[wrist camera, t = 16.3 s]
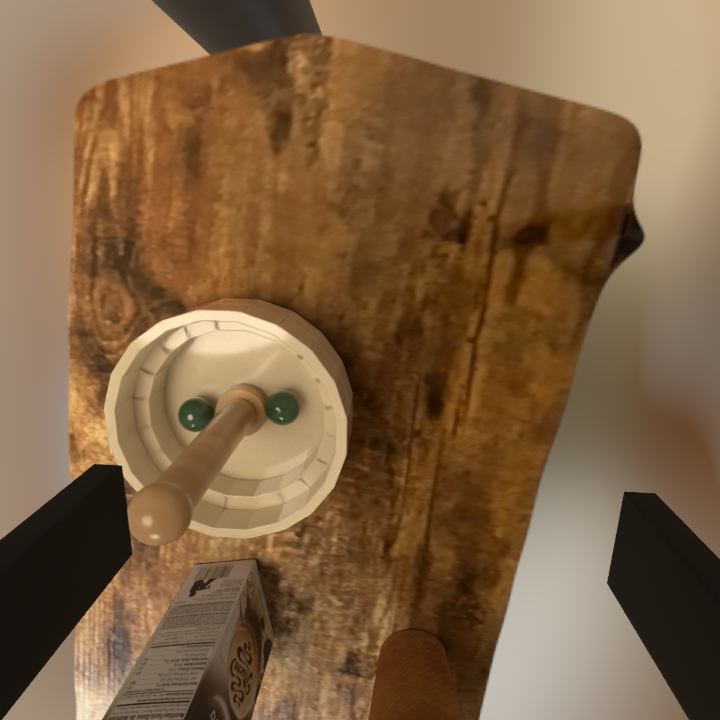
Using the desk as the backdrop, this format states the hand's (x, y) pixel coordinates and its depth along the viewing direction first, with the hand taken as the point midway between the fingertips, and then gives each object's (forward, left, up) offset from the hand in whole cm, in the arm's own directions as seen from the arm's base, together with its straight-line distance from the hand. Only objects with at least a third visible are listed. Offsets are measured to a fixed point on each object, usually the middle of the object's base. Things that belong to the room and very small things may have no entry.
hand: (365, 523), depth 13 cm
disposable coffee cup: (+32, +4, -27) cm, 42 cm away
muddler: (+7, -11, -26) cm, 29 cm away
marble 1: (+7, -15, -25) cm, 30 cm away
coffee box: (+27, -13, -27) cm, 40 cm away
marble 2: (+6, -8, -25) cm, 27 cm away
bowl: (+7, -11, -27) cm, 30 cm away
